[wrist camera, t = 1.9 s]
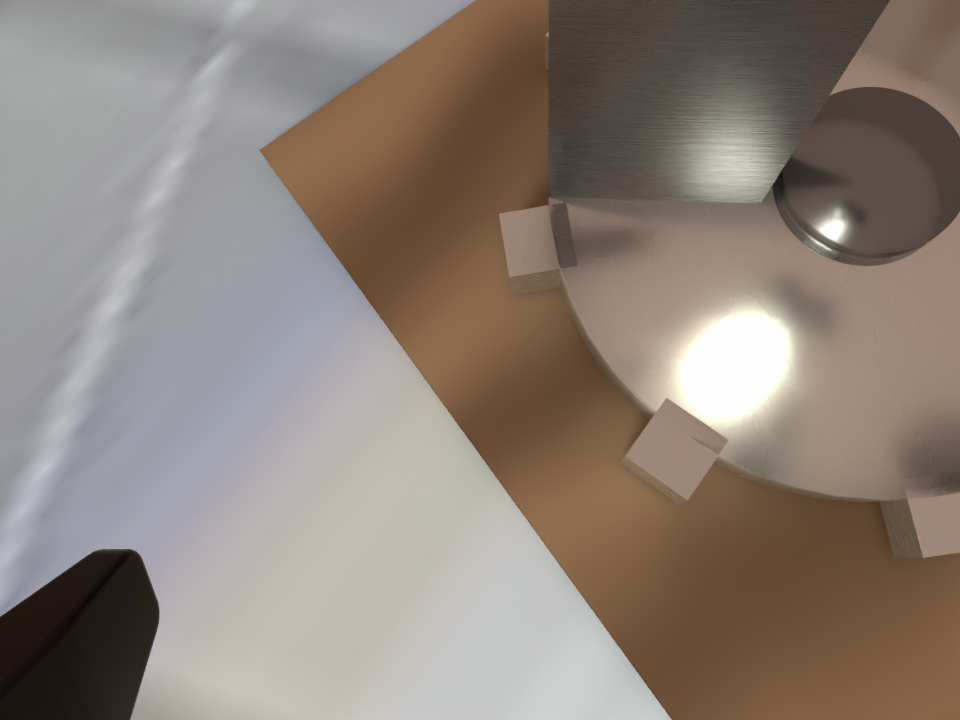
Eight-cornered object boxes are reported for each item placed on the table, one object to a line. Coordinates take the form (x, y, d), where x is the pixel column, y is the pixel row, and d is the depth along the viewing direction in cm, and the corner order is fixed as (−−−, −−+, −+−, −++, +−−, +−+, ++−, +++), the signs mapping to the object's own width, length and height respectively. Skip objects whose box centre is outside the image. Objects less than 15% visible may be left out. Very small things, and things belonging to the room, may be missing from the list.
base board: (1494, 296, 21) (1643, 258, 18) (780, 869, 19) (820, 925, 16) (863, -256, 26) (900, -351, 23) (265, 157, 25) (228, 108, 22)
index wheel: (1355, 267, 21) (2459, -104, 9) (802, 700, 19) (1207, 956, 8) (865, -176, 25) (1160, -838, 13) (385, 159, 23) (222, -228, 12)
